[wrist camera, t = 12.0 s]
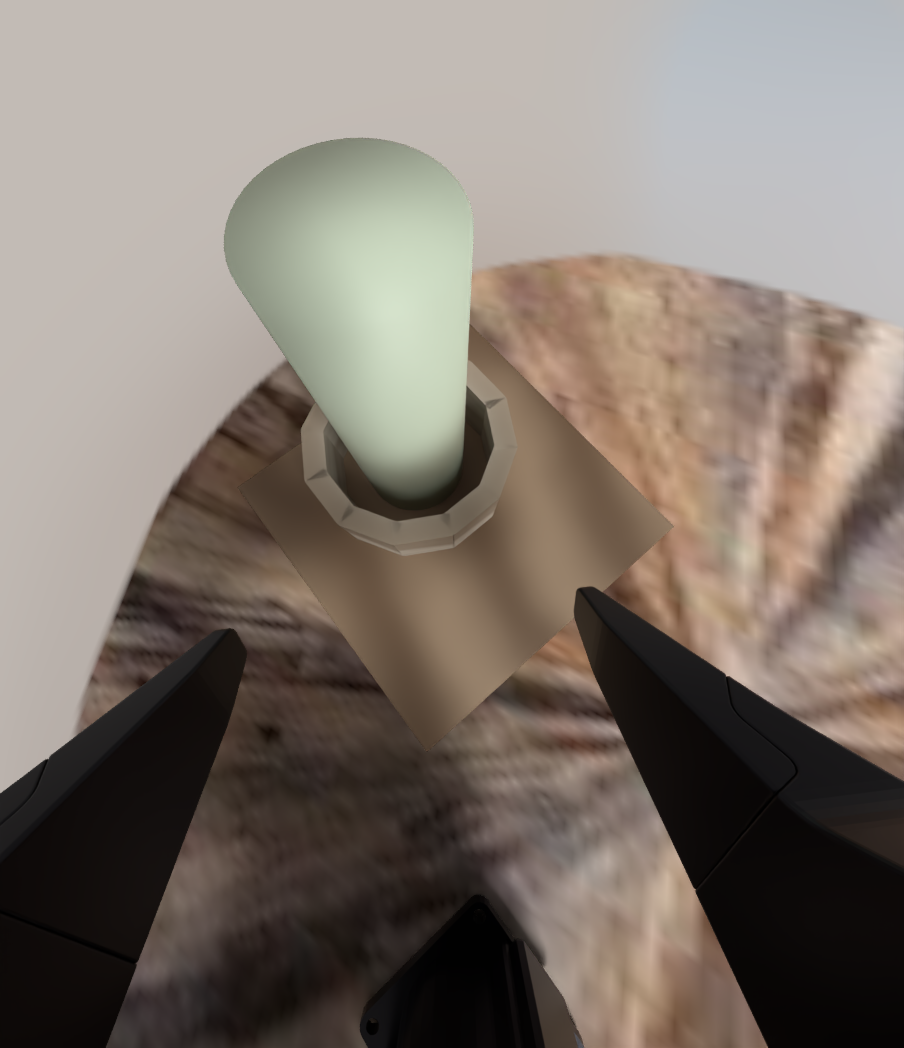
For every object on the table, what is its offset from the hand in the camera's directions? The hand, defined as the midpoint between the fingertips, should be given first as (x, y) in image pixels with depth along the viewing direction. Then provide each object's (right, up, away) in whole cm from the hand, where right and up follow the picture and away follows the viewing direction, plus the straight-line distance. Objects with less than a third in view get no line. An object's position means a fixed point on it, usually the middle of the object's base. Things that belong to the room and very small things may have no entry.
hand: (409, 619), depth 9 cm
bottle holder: (+1, +3, +10) cm, 11 cm away
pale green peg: (-1, +6, +9) cm, 11 cm away
